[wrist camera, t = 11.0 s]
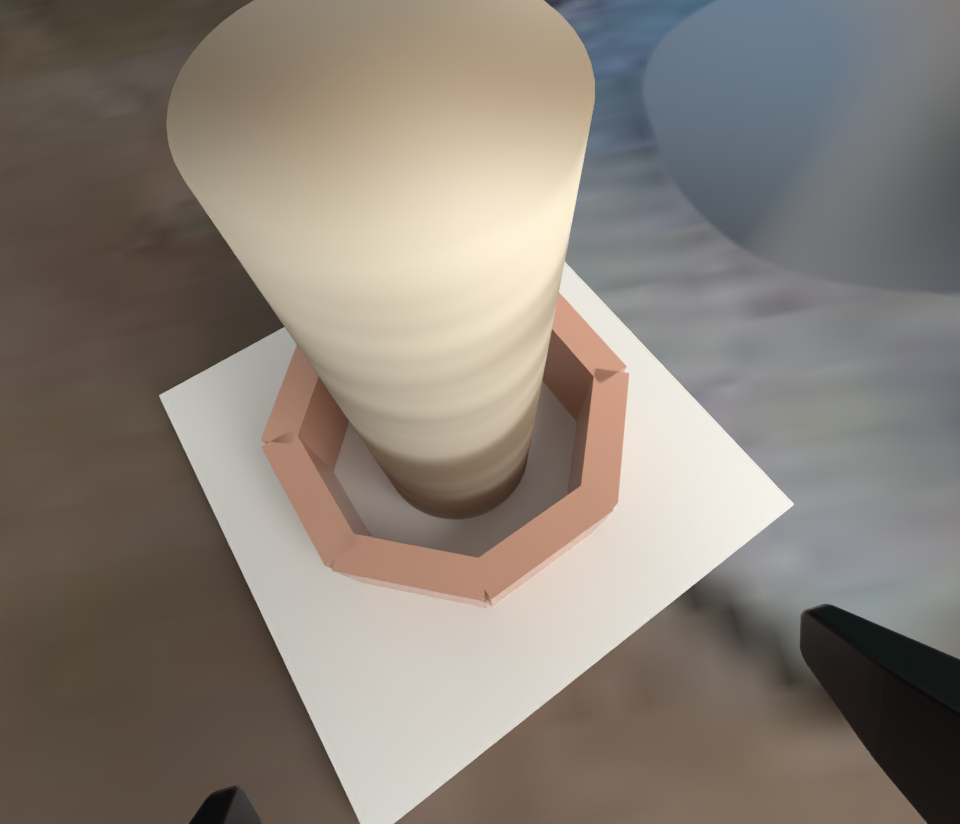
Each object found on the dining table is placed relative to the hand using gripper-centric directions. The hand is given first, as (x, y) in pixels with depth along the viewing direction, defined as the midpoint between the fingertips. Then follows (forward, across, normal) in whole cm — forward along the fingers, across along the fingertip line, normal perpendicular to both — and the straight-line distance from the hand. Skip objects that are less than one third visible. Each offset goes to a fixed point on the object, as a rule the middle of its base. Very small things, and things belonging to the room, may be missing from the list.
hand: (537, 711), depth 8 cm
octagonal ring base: (+12, 0, +1) cm, 12 cm away
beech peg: (+11, 0, 0) cm, 11 cm away
